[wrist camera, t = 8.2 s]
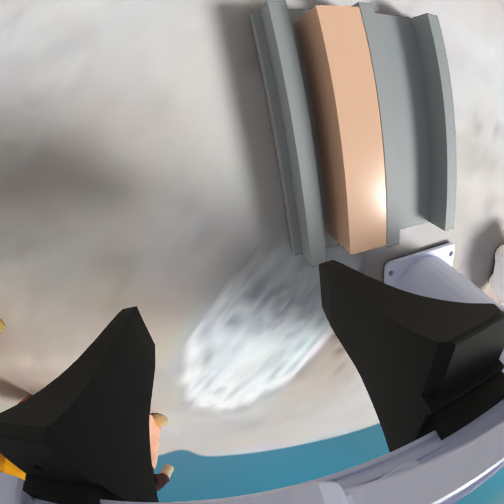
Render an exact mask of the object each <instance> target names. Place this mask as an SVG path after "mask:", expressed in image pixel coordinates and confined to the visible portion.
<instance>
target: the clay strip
mask: <svg viewBox="0 0 504 504" xmlns="http://www.w3.org/2000/svg"><path fill="white" fill-rule="evenodd" d="M296 25H297V29H298V34H299V38H300V43H301V47H302V52H303V57H304V62H305V67H306V72H307V77H308V83H309V88H310V94H311V100H312V105H313V111H314V118H315V124H316V130H317V137H318V144H319V151H320V159H321V167H322V175H323V183H324V192H325V201H326V211H327V222H328V233H329V234H330V235H331V236H332V237H333V238H334V239H335V240H336V241H337V242H338V243H339V244H340V245H341V246H342V247H343V248H344V249H345V250H346V251H347V252H348V253H349V254H350V255H352V254H356V253H360V252H364V251H367V250H371V249H375V248H379V247H382V246H386V185H385V167H384V153H383V141H382V131H381V122H380V114H379V106H378V99H377V92H376V85H375V79H374V73H373V68H372V62H371V57H370V52H369V47H368V42H367V38H366V33H365V29H364V25H363V21H362V17H361V13H360V9H359V7H351V6H333V5H315V6H314V7H313V8H312V9H311V10H309V11H308V12H307V13H306V14H305V15H304V16H303V17H302V18H301V19H299V20H298V21H297V22H296Z"/></svg>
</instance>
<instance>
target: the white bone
mask: <svg viewBox="0 0 504 504" xmlns="http://www.w3.org/2000/svg"><path fill="white" fill-rule="evenodd" d="M489 284H490V286H491V288H492V289H493V290H494V291H495V293H496V294H497V296H498V298H499V300H500V302H501V306H502V307H503V306H504V244H503V245H501V246H499V247H498V249H497V250H496V253H495V266H494V272H493V274H492V275H491V276H490V278H489Z"/></svg>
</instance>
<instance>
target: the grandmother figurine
mask: <svg viewBox="0 0 504 504" xmlns="http://www.w3.org/2000/svg"><path fill="white" fill-rule="evenodd" d="M167 422H168V419H167V417H165V416H163V415H160V414H153V415H151V414H150V417H149V430H150V448H151V460H152V468H153V473H154V469H155V467H156V464H157V458H158V448H159V441H160V427H162V426H164V425H166V424H167ZM173 470H174V468H173V466H171V465H169V464H167V465H165V466H164V467H163V470H162V471H161V473H160V474H153V475H154V482H155V487H156V492H157V491H158V490H160V489H161V488H163V486H165V484H167V482H168V481H169V478H170V476H171V473H172V472H173Z"/></svg>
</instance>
